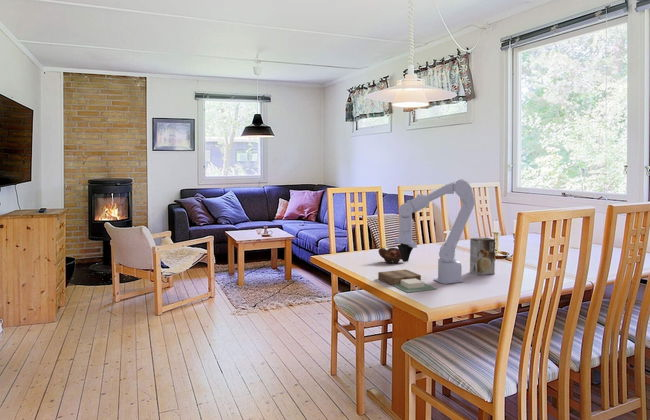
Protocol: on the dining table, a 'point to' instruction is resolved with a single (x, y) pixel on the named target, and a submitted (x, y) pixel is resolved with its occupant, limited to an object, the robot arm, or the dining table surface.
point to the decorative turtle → (390, 255)
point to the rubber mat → (425, 288)
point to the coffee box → (482, 256)
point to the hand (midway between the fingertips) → (405, 261)
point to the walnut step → (397, 276)
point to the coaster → (412, 283)
